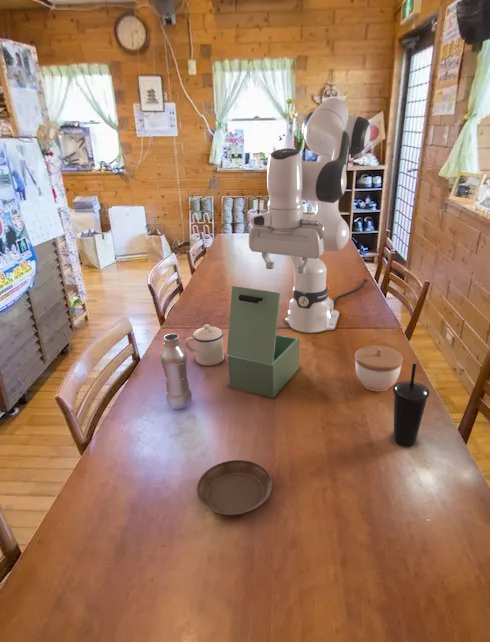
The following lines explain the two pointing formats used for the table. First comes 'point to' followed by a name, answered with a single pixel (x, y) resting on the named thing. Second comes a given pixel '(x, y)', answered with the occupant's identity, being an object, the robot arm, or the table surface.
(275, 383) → the bin
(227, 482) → the saucer
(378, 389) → the lidded bowl
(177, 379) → the silver metal bottle
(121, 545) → the table surface
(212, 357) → the teacup with lid
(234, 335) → the bin lid
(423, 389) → the drinking cup
